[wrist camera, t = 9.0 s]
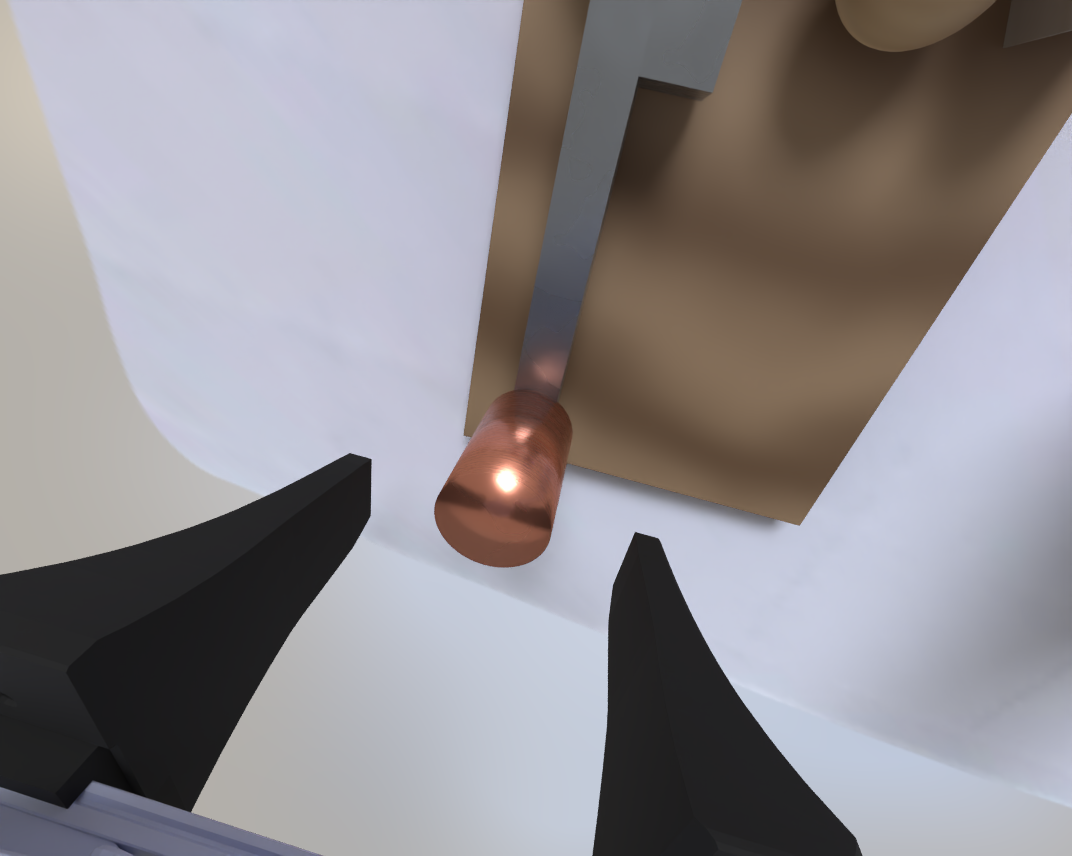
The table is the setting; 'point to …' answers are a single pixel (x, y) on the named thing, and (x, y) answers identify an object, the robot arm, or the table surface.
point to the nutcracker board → (767, 237)
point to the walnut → (907, 21)
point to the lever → (572, 270)
